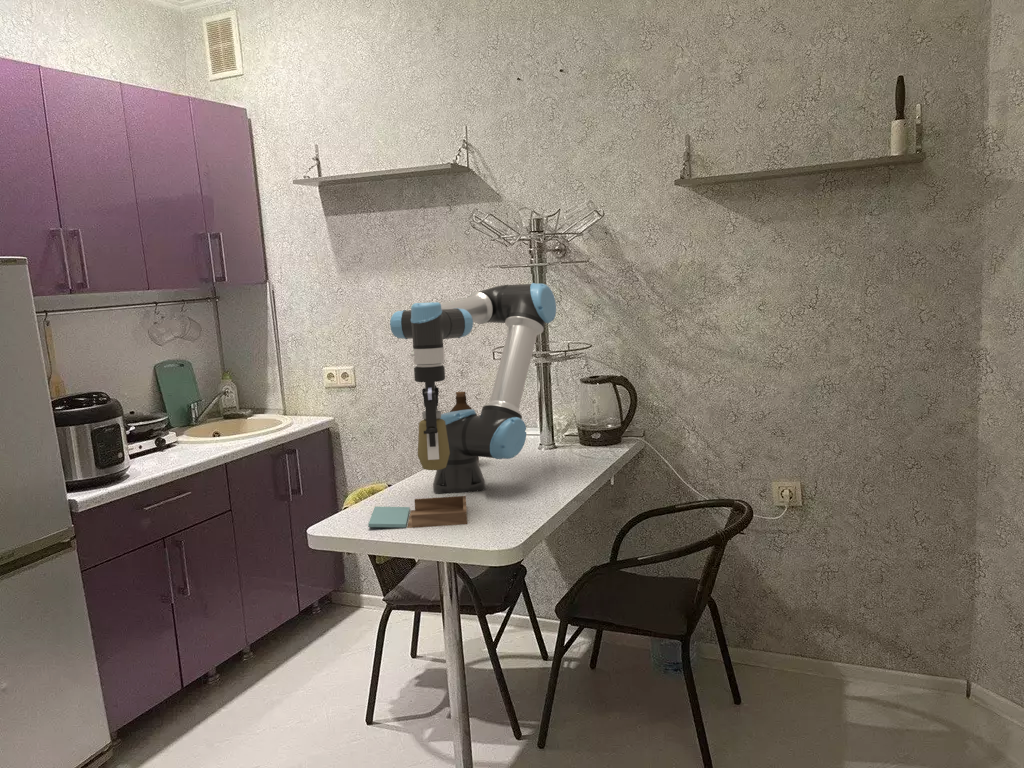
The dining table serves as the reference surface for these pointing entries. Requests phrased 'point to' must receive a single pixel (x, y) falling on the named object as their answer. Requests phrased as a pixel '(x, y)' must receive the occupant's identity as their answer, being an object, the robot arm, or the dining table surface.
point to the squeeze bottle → (442, 444)
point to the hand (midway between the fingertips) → (434, 455)
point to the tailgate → (389, 517)
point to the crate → (438, 512)
